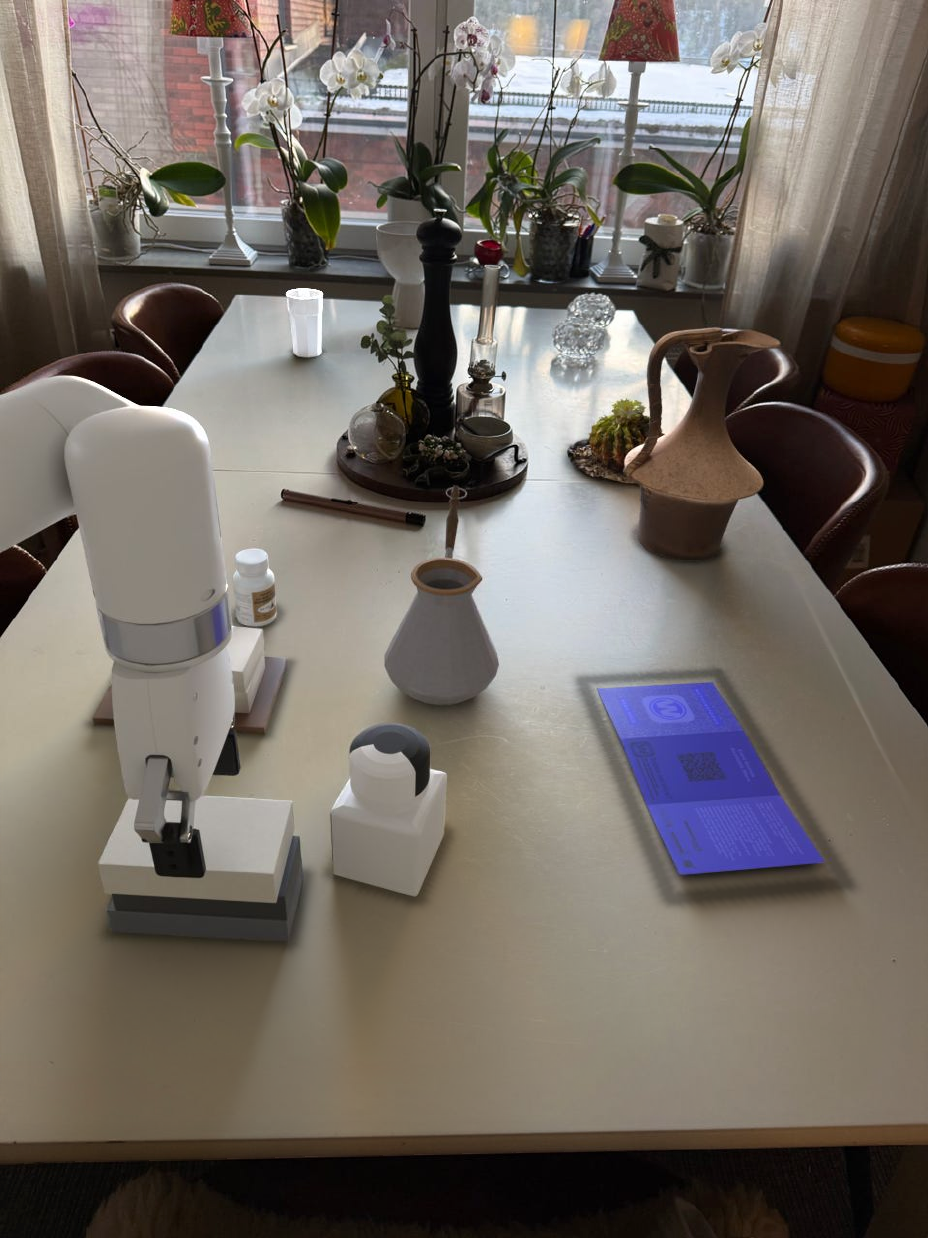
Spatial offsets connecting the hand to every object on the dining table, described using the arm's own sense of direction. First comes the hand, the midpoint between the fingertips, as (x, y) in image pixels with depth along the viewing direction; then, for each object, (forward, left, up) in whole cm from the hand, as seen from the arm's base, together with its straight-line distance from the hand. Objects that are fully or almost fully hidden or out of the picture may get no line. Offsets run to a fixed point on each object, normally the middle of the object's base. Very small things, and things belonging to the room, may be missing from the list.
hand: (201, 820), depth 66 cm
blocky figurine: (+13, +6, -10) cm, 17 cm away
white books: (-8, +25, -9) cm, 28 cm away
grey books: (0, 0, -9) cm, 9 cm away
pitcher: (+45, +62, -10) cm, 77 cm away
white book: (0, 0, -4) cm, 4 cm away
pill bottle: (-5, +39, -10) cm, 41 cm away
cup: (-15, +129, -10) cm, 130 cm away
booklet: (+40, +18, -9) cm, 45 cm away
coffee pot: (+16, +34, -10) cm, 39 cm away
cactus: (+40, +86, -10) cm, 95 cm away
